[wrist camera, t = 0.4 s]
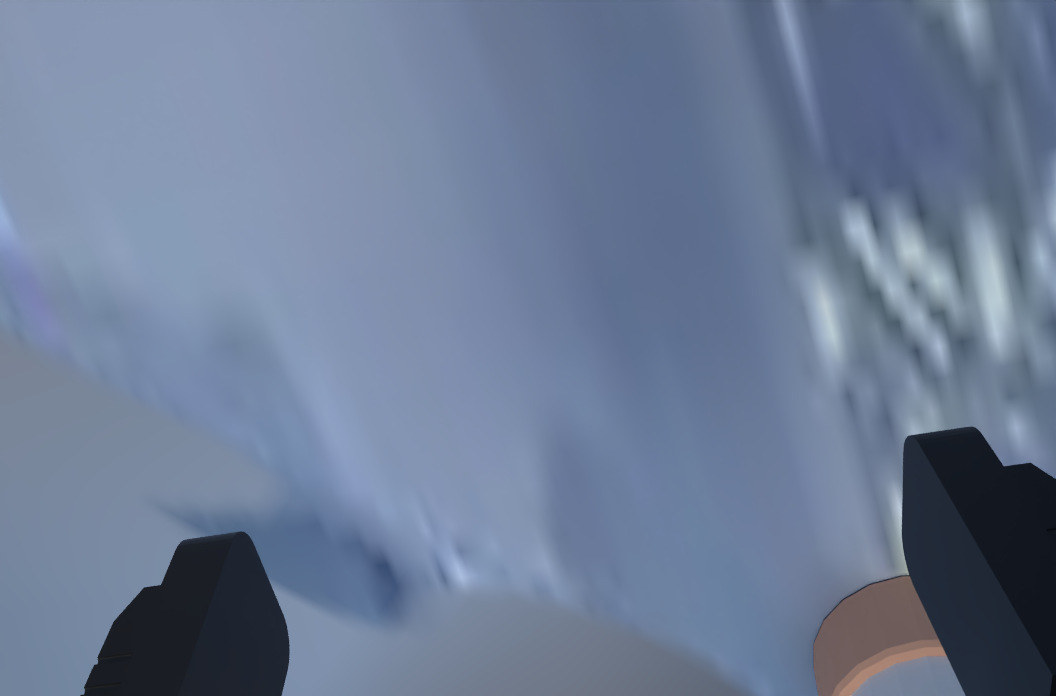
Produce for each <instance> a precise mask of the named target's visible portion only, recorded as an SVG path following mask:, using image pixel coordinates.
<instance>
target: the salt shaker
mask: <svg viewBox="0 0 1056 696" xmlns="http://www.w3.org/2000/svg"><path fill="white" fill-rule="evenodd" d="M814 672H815V678H816V684H817V690H818V695H819V696H965V694H964V692H963V689H962V687H961V685H960V683H959V681H958V679H957V677H956V675H955V673H954V670H953V668H952V666H951V664H950V662H949V660H948V658H947V656H946V654H945V651H944V649H943V647H942V645H941V643H940V641H939V639H938V637H937V635H936V632H935V630H934V628H933V626H932V624H931V622H930V620H929V618H928V616H927V613H926V611H925V609H924V607H923V605H922V603H921V601H920V599H919V597H918V594H917V592H916V590H915V588H914V586H913V583H912V581H911V578H910V576H902V577H898V578H894V579H890V580H887V581H883V582H879V583H875V584H871V585H869V586H867V587H865V588H864V589H862V590H860V591H858V592H857V593H855V594H853V595H851V596H850V597H848V598H846V599H844V600H843V601H842V602H841V603H840V604H839V605H838V606H837V607H836V608H835V609H834V610H833V611H832V612H831V613H830V615H829V616H828V617H827V618H826V619H825V620H824V621H823V623H822V626H821V628H820V630H819V633H818V635H817V637H816V640H815V642H814Z"/></svg>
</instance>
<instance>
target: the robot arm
mask: <svg viewBox="0 0 1056 696" xmlns="http://www.w3.org/2000/svg"><path fill="white" fill-rule="evenodd" d="M902 542H903V550H904V555H905V560H906V564H907V568H908V572H909V575H910V578H911V581H912V583H913V586H914V588H915V590H916V592H917V594H918V597H919V599H920V601H921V603H922V605H923V607H924V609H925V611H926V613H927V616H928V618H929V620H930V622H931V624H932V626H933V628H934V630H935V632H936V635H937V637H938V639H939V641H940V643H941V645H942V647H943V649H944V651H945V654H946V656H947V658H948V660H949V662H950V664H951V666H952V668H953V670H954V673H955V675H956V677H957V679H958V681H959V683H960V685H961V687H962V689H963V692H964V694H965V696H1056V479H1055V478H1053V477H1051V476H1050V475H1048V474H1047V473H1045V472H1044V471H1042V470H1041V469H1039V468H1038V467H1036V466H1035V465H1033V464H1032V463H1025V464H1018V465H1011V466H1003V465H1002V463H1001V462H1000V460H999V459H998V457H997V456H996V454H995V453H994V451H993V450H992V448H991V447H990V446H989V444H988V443H987V441H986V440H985V438H984V437H983V435H982V434H981V433H980V431H979V430H978V429H977V428H975V427H964V428H957V429H951V430H944V431H937V432H930V433H923V434H916V435H910V436H908V437H907V438H906V440H905V443H904V452H903V501H902ZM288 664H289V636H288V630H287V625H286V622H285V618H284V615H283V613H282V610H281V608H280V606H279V603H278V601H277V598H276V596H275V594H274V591H273V589H272V586H271V584H270V582H269V579H268V577H267V575H266V572H265V570H264V567H263V565H262V563H261V560H260V558H259V555H258V553H257V551H256V548H255V546H254V544H253V542H252V540H251V538H250V537H249V536H248V534H246V533H245V532H234V533H227V534H221V535H214V536H207V537H200V538H193V539H187V540H183V541H182V542H181V543H180V544H179V545H178V546H177V549H176V550H175V553H174V555H173V558H172V560H171V562H170V565H169V567H168V570H167V572H166V574H165V577H164V579H163V582H162V584H161V585H158V586H151V587H145V588H143V589H142V591H141V592H140V593H139V594H138V595H137V596H136V597H135V598H134V600H133V601H132V602H131V603H130V604H129V605H128V606H127V607H126V609H125V610H124V611H123V612H122V613H121V614H120V615H119V616H118V617H117V619H116V620H115V621H114V622H113V625H112V627H111V629H110V631H109V633H108V636H107V638H106V640H105V642H104V645H103V647H102V649H101V651H100V653H99V655H98V664H97V665H94V667H93V669H92V671H91V673H90V675H89V678H88V680H87V682H86V684H85V687H84V688H85V694H84V695H81V696H281V695H282V691H283V687H284V683H285V678H286V675H287V670H288Z"/></svg>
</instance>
